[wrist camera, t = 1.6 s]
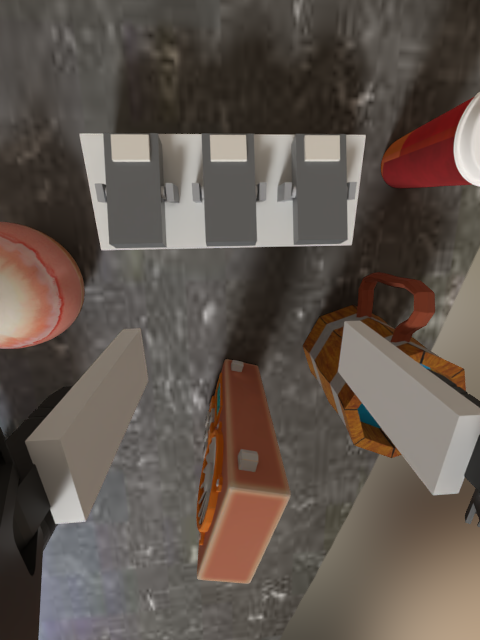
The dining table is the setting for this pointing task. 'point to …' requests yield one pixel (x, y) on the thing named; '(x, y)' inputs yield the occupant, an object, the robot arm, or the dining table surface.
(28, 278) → the vase
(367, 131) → the dining table surface
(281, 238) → the console
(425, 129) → the paper cup
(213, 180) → the rocker
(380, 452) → the mug
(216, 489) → the control panel
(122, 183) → the rocker
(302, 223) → the rocker
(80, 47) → the dining table surface
